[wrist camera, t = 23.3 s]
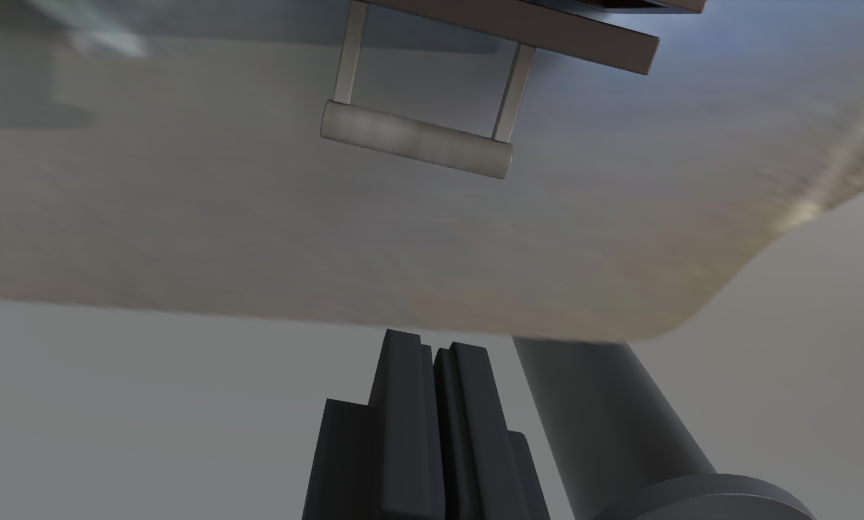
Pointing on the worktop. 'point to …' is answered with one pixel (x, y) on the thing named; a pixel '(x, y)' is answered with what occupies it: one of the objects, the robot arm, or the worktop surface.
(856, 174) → the worktop surface
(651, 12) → the cabinet
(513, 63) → the drawer
